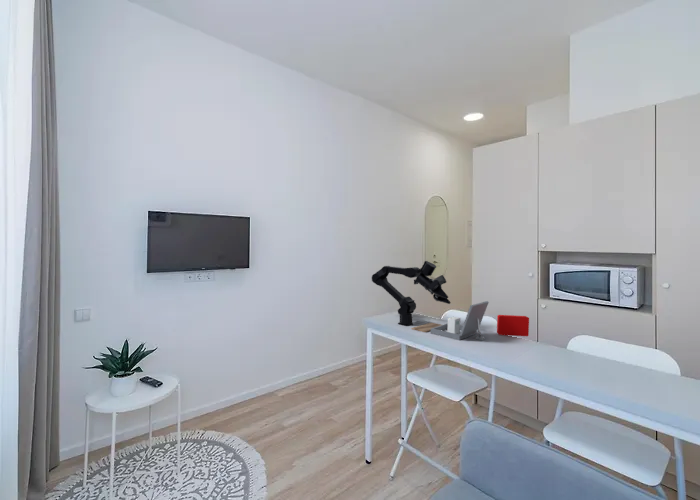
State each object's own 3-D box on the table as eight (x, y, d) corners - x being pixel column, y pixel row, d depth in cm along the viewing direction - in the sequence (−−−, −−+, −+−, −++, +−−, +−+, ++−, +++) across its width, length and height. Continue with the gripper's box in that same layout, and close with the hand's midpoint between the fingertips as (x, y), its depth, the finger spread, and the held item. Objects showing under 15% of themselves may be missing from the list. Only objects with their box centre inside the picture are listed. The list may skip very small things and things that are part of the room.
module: (447, 333, 179) (447, 318, 179) (452, 331, 184) (453, 316, 183) (454, 335, 176) (455, 319, 176) (460, 333, 181) (460, 318, 181)
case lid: (470, 305, 164) (472, 306, 163) (486, 301, 177) (488, 301, 177) (459, 334, 168) (461, 336, 167) (476, 328, 181) (478, 329, 181)
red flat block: (526, 334, 181) (526, 316, 180) (528, 336, 178) (529, 317, 178) (496, 333, 182) (497, 314, 182) (498, 335, 179) (499, 315, 179)
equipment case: (430, 333, 179) (431, 314, 179) (448, 327, 192) (449, 309, 192) (474, 343, 162) (475, 322, 162) (491, 336, 176) (491, 316, 176)
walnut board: (411, 329, 187) (411, 328, 187) (431, 323, 201) (431, 322, 201) (425, 332, 180) (425, 331, 180) (445, 326, 195) (445, 325, 195)
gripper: (433, 265, 181) (457, 283, 172) (438, 278, 196) (461, 295, 188) (419, 280, 180) (442, 299, 171) (425, 292, 195) (447, 310, 187)
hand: (449, 300), depth 179 cm, fingers open, 9 cm apart
